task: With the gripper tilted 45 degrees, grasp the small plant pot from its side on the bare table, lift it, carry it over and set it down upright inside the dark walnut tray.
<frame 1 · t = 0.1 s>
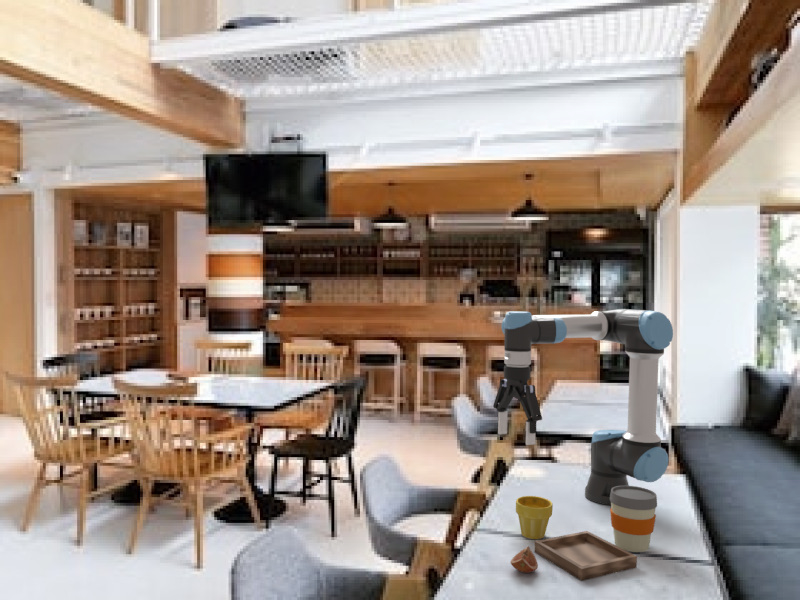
hand: (516, 439, 189), 28 cm above the table, tool pointing down, fingers open, 13 cm apart
plant pot: (533, 535, 190), on the table
walnut tray: (584, 559, 174), on the table
fruit slice: (523, 572, 166), on the table
reusable coffee cup: (631, 546, 184), on the table
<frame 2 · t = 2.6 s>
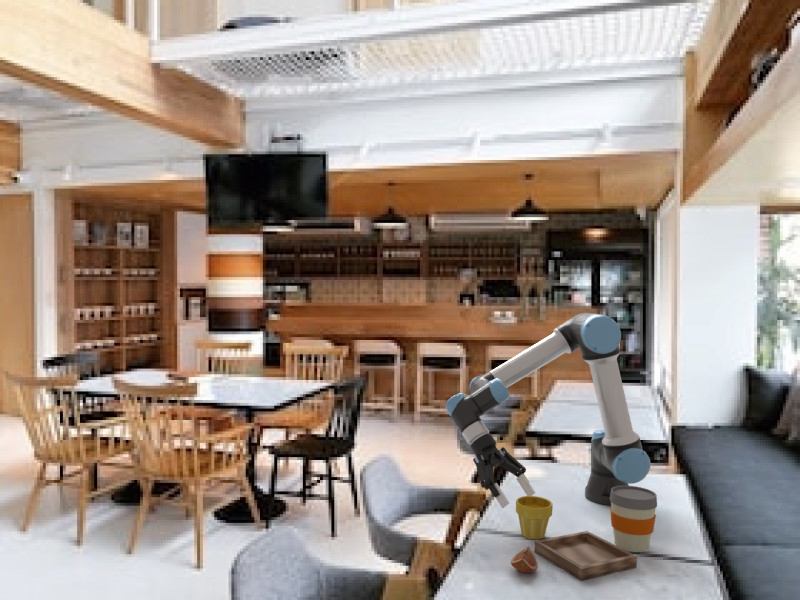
hand: (519, 500, 192), 9 cm above the table, tool tilted 45°, fingers open, 13 cm apart
nothing on the table moved.
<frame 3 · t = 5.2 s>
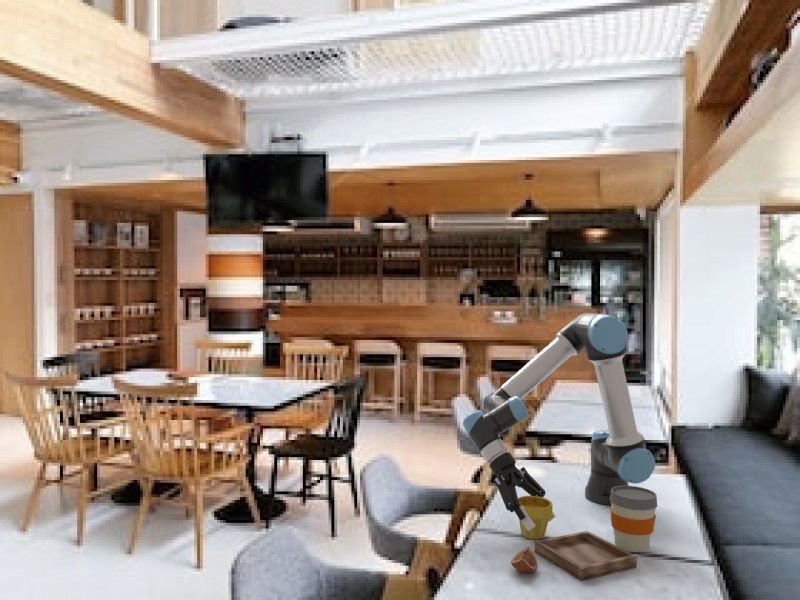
hand: (542, 523, 187), 4 cm above the table, tool tilted 45°, fingers closed on plant pot, 10 cm apart
plant pot: (533, 535, 190), on the table, touching gripper
everything else where it was.
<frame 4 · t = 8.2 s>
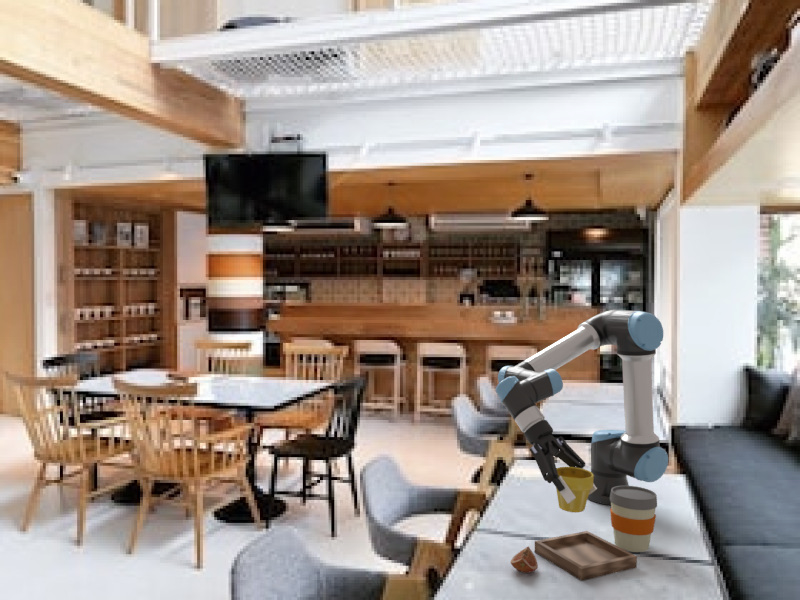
hand: (582, 496, 173), 17 cm above the table, tool tilted 45°, fingers closed on plant pot, 10 cm apart
plant pot: (572, 509, 176), point 13 cm above the table, touching gripper
everything else where it was.
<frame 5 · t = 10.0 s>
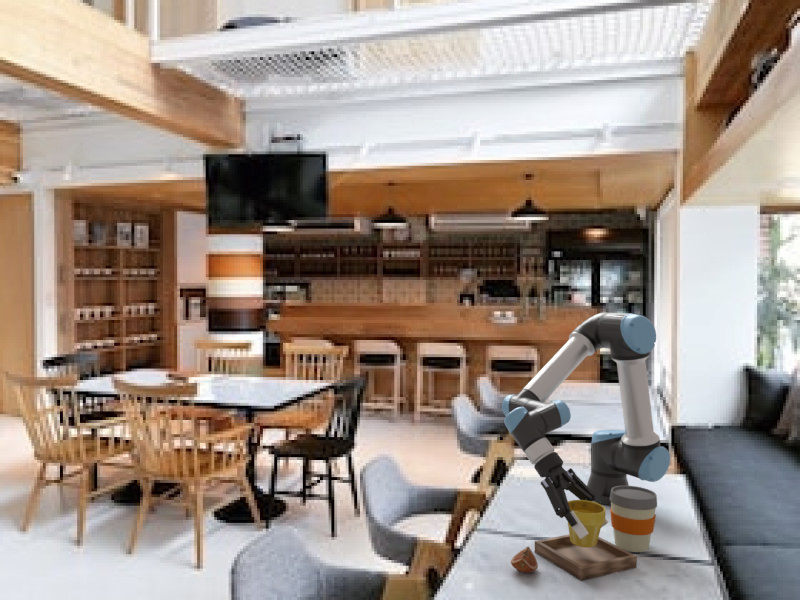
hand: (594, 530, 171), 9 cm above the table, tool tilted 45°, fingers closed on plant pot, 10 cm apart
plant pot: (583, 543, 173), point 4 cm above the table, touching gripper
everything else where it was.
when the fingers open (6 cm above the table, at t = 11.4 s): plant pot drops 1 cm, resting on walnut tray.
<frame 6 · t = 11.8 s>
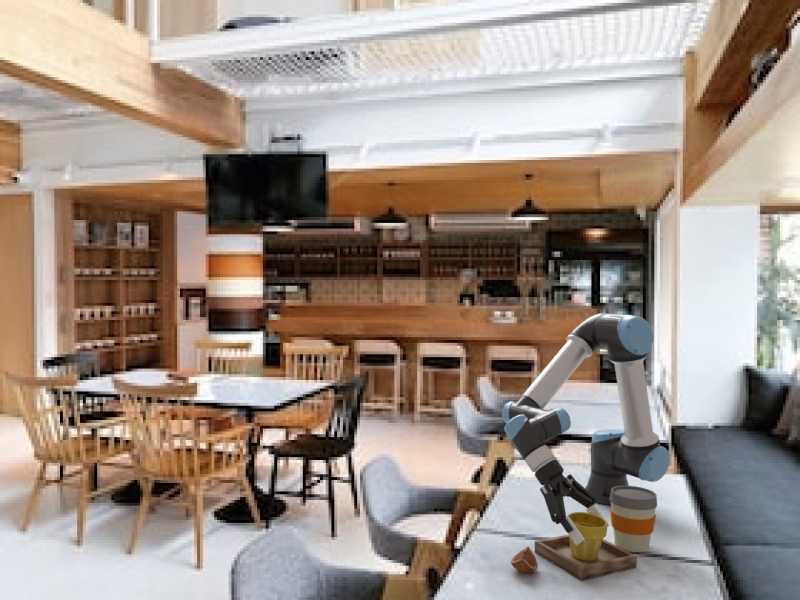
hand: (593, 535, 172), 7 cm above the table, tool tilted 45°, fingers open, 13 cm apart
plant pot: (584, 556, 174), point 1 cm above the table, touching walnut tray
everything else where it was.
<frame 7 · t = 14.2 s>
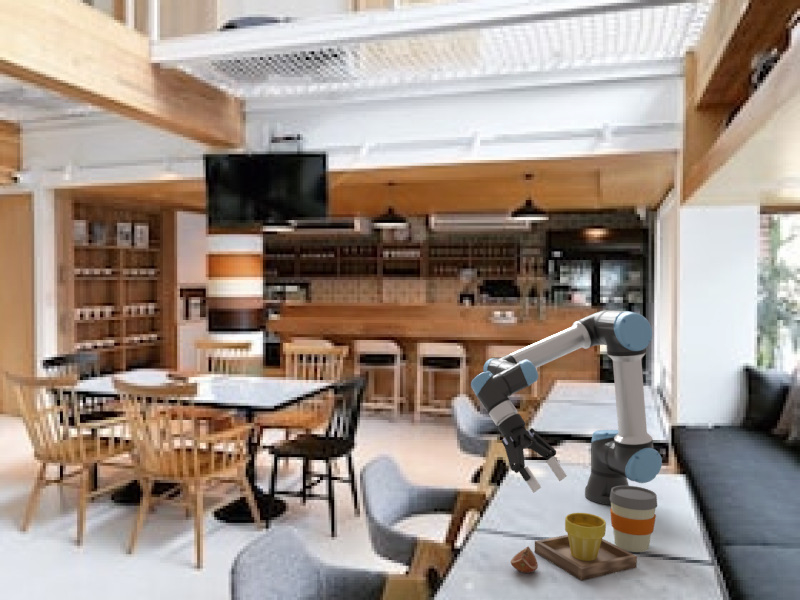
hand: (550, 484, 181), 17 cm above the table, tool tilted 45°, fingers open, 13 cm apart
nothing on the table moved.
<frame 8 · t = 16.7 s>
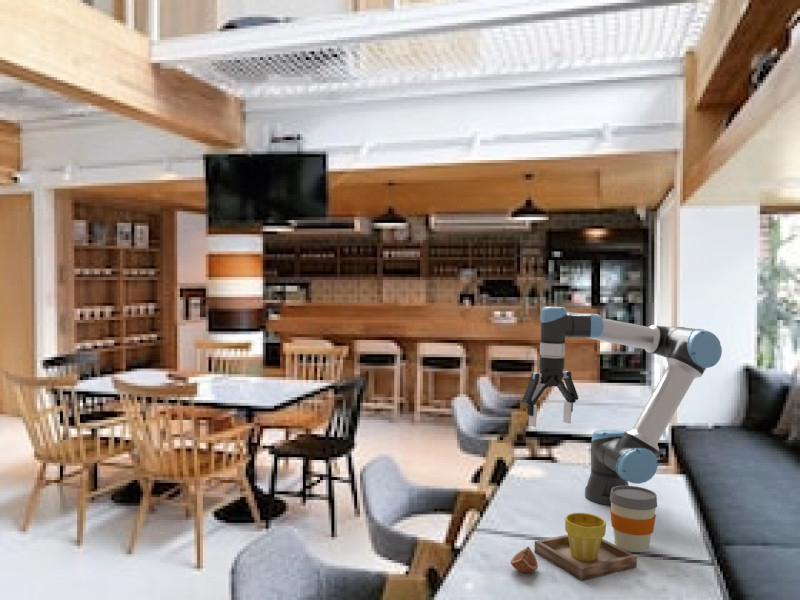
hand: (550, 424, 205), 29 cm above the table, tool pointing down, fingers open, 13 cm apart
nothing on the table moved.
at the end: plant pot inside the target area on the walnut tray (0.1 cm from its centre), point 0.8 cm above the walnut tray's base; plant pot tilted 0°; the gripper is holding nothing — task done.
